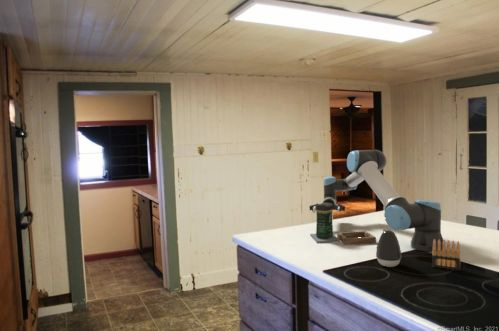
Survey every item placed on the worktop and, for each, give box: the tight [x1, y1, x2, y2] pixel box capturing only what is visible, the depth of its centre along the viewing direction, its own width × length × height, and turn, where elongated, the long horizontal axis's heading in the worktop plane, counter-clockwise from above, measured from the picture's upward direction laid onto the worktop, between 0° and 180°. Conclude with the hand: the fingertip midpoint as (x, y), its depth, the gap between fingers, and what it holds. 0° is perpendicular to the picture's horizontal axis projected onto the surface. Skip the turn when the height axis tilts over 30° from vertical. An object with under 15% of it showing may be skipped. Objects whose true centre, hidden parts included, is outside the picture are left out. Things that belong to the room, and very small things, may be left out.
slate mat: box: [310, 233, 341, 244], centre depth 223 cm, size 16×12×1 cm
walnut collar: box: [336, 230, 377, 246], centre depth 217 cm, size 14×16×3 cm
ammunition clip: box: [431, 239, 462, 269], centre depth 169 cm, size 11×2×12 cm, turn 59°
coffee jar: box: [315, 202, 334, 239], centre depth 222 cm, size 10×8×19 cm
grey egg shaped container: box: [375, 229, 402, 268], centre depth 176 cm, size 10×10×15 cm
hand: (325, 210), depth 231 cm, fingers open, 13 cm apart
